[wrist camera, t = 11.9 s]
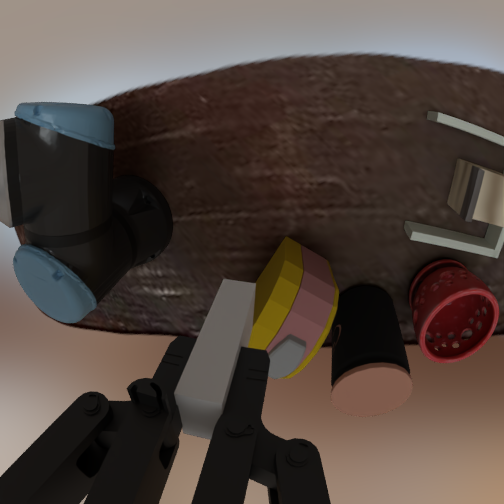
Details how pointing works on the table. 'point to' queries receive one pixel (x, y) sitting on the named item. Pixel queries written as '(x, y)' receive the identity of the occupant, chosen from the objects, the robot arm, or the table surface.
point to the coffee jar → (368, 355)
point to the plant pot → (451, 310)
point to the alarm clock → (293, 308)
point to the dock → (451, 238)
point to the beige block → (477, 193)
